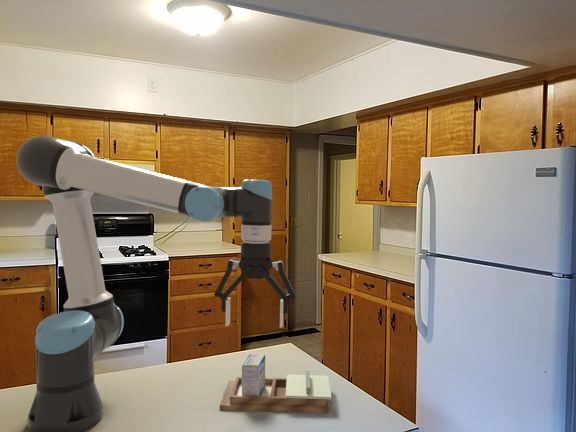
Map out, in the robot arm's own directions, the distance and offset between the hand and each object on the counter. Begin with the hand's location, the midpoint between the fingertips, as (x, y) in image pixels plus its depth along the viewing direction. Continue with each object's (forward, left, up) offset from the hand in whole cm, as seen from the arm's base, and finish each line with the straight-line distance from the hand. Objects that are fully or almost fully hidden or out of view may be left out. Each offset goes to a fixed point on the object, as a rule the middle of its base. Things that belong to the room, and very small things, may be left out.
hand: (254, 325), depth 112 cm
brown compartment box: (+6, 0, -18) cm, 19 cm away
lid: (+14, 0, -16) cm, 21 cm away
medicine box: (0, 0, -18) cm, 18 cm away
